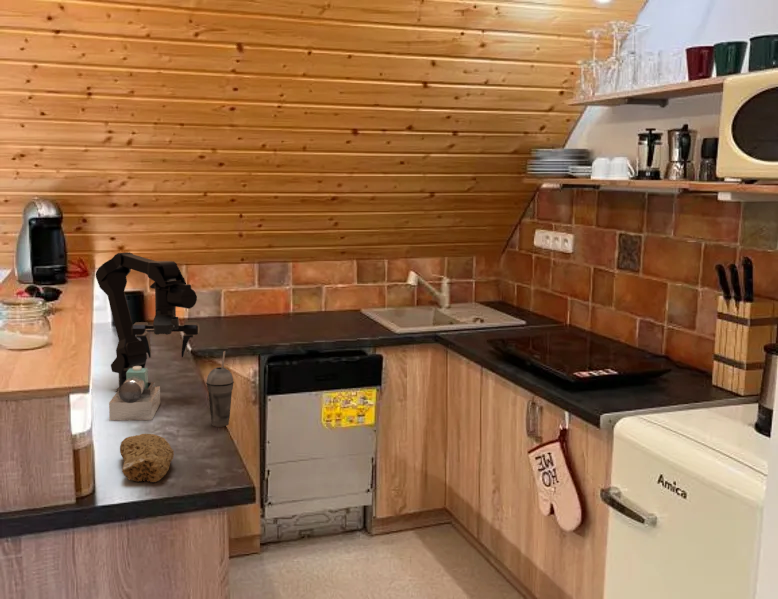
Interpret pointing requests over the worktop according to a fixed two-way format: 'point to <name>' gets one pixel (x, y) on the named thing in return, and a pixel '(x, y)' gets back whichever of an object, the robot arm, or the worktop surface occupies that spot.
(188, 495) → the worktop surface
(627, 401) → the worktop surface
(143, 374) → the green block with knob
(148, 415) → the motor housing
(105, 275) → the robot arm
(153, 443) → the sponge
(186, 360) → the worktop surface
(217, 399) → the beverage cup
